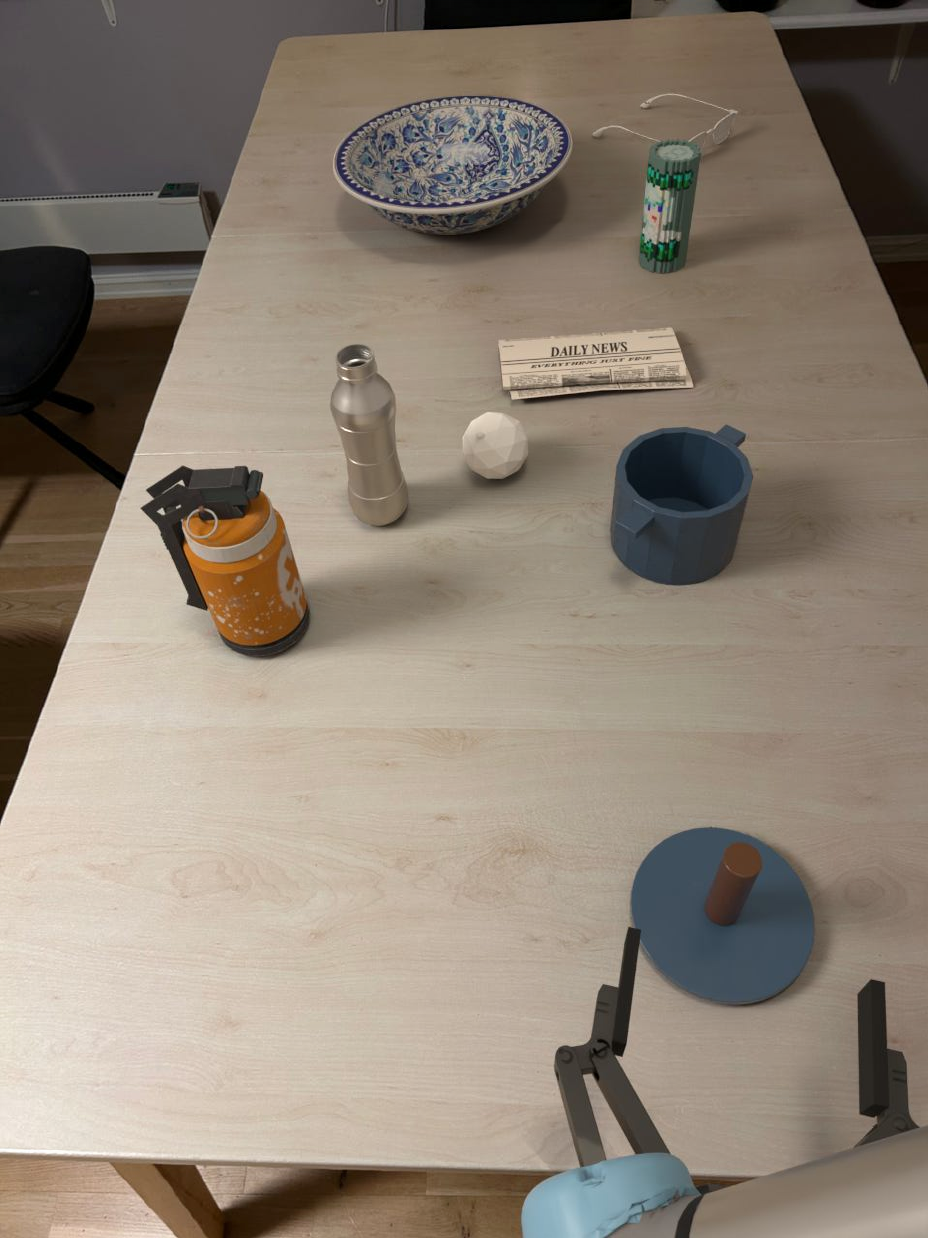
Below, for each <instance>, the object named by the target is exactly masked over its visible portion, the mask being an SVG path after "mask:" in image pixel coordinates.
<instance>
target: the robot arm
mask: <svg viewBox="0 0 928 1238" xmlns="http://www.w3.org/2000/svg"><path fill="white" fill-rule="evenodd" d="M640 935H641V929H637V928H634V927H632V926H628V927H627V931H626V935H625V939H624V944H623V948H622V949H623V950H622V958H621V964H620V972H619V979H618V986H615V985H609V984H605V983H602V985H601V986H600V988H599V990H597V996H596V1001H595V1007H594V1013H593V1021H592V1028H591V1035H590V1038H589V1040H588V1041H586V1043H583V1044H580V1045H572V1046H571V1045H567V1044H566V1045H565V1044H564V1045H561V1046H559V1047H558V1048H557V1049H556V1051H555V1054H554V1061H553V1071H554V1075H555V1079H556V1083H557V1086H558V1089H559V1094H560V1098H561V1101H562V1104H563V1108H564V1109H563V1110H564V1112H565V1116H566V1119H567V1123H568V1124H567V1125H568V1128H569V1130H570V1135H571V1138H572V1142H573V1146H574V1149H575V1153H576V1157H577V1161H578V1165H579V1166H578V1167H575V1168H572V1169H569V1170H566V1171H562V1172H559V1173H557V1174H555V1175H553V1176H551V1177H548V1178H546V1179H544V1180H542V1181H540V1182H539V1183H538V1184H537V1185H535V1186H534V1187H533V1188H532V1189H531V1190H530V1192H529V1193H528V1194H527V1196H526V1197H525V1200H524V1202H523V1204H522V1208H521V1216H520V1219H521V1221H520V1222H521V1229H522V1230H521V1231H522V1238H928V1124H927V1125H926V1124H925V1125H923V1126H919V1125H918V1124H917V1123H916V1122H915V1121H914V1120H913V1118H912V1117H911V1114H910V1108H909V1090H908V1089H909V1087H908V1085H909V1084H908V1067H907V1064H908V1063H907V1060H906V1058H905V1055H904V1052H903V1051H900V1050H896V1049H892V1048H888V1031H887V1029H888V1028H887V1001H886V982H885V981H882V980H877V979H872V978H871V979H869V981H867V983H865V985H864V986H863V987H862V988H861V989H860V991H858V992H857V998H856V999H857V1049H858V1050H857V1051H858V1052H857V1055H858V1056H857V1057H858V1058H857V1059H858V1060H857V1061H858V1062H857V1063H858V1106H859V1107H858V1111H859V1112H858V1113H859V1114H858V1115H861V1116H863V1117H864V1116H865V1117H868V1118H871V1119H872V1118H873V1119H874V1118H876V1123H875V1124H874V1125H872V1128H871V1129H870V1130H869V1131H867V1132H866V1134H865V1135H864V1136H863V1137H862V1138H861V1139H860V1140H859V1141H858V1142H857V1143H856V1144H855V1145H854V1146H853V1147H852V1148H850V1149H846V1150H843V1151H840V1152H836V1153H834V1154H830V1155H827V1156H823V1157H821V1158H817V1159H813V1160H809V1161H808V1162H804V1163H801V1164H798V1165H795V1166H791V1167H788V1168H785V1169H781V1170H778V1171H775V1172H771V1173H769V1174H765V1175H763V1176H759V1177H756V1178H753V1179H750V1180H746V1181H744V1182H743V1181H742V1182H740V1183H737V1184H734V1185H731V1186H726V1185H724V1184H719V1183H715V1182H712V1181H707V1183H702V1184H698V1185H696V1186H695V1185H694V1182H693V1179H692V1176H691V1174H690V1170H689V1169H688V1167H687V1165H686V1163H684V1161H683V1160H681V1158H679V1157H678V1156H676V1155H674V1154H672V1153H671V1152H670V1150H669V1148H668V1147H667V1144H666V1143H665V1141H664V1140H663V1138H662V1136H661V1134H660V1132H659V1130H658V1129H657V1127H656V1125H655V1124H654V1121H653V1120H652V1118H651V1116H650V1115H649V1113H648V1111H647V1109H646V1107H645V1105H644V1104H643V1102H642V1101H641V1099H640V1097H639V1095H638V1094H637V1091H636V1090H635V1088H634V1087H633V1085H632V1083H631V1081H630V1079H629V1078H628V1076H627V1074H626V1071H625V1070H624V1068H623V1067H622V1065H621V1063H620V1062H619V1060H618V1058H617V1057H621V1058H623V1057H624V1053H625V1051H626V1047H627V1043H628V1037H629V1029H630V1020H631V1012H632V1006H633V997H634V990H635V989H634V988H635V982H636V981H635V980H636V975H637V974H636V973H637V965H638V959H639V958H638V957H639V951H640ZM586 1075H592V1077H593V1079H594V1082H595V1083H596V1085H597V1087H598V1089H599V1090H600V1093H601V1094H602V1096H603V1098H604V1099H605V1101H606V1103H607V1105H608V1107H609V1109H610V1110H611V1112H612V1114H613V1116H614V1118H615V1120H616V1121H617V1123H618V1125H619V1128H620V1129H621V1131H622V1132H623V1135H624V1137H625V1138H626V1140H627V1141H628V1144H629V1145H630V1147H631V1149H632V1151H633V1152H634V1154H630V1155H625V1156H620V1157H613V1158H609V1159H607V1156H606V1152H605V1148H604V1145H603V1142H602V1138H601V1134H600V1131H599V1128H598V1124H597V1120H596V1117H595V1113H594V1110H593V1106H592V1103H591V1100H590V1096H589V1095H590V1094H589V1092H588V1089H587V1084H586V1083H585V1082H586V1081H585V1079H584V1076H586Z"/></svg>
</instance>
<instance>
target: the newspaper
mask: <svg viewBox="0 0 928 1238" xmlns="http://www.w3.org/2000/svg"><path fill="white" fill-rule="evenodd" d="M497 344H498V345H497V346H498V351H499V359H500V368H501V380H502V381H501V382H502V391H509V393H510V397H511V400H522V399H530V398H540V397H551V396H560V395H568V394H578V393H579V394H580V393H587V392H599V391H614V390H615V391H616V390H618V391H620V390H621V391H623V390H653V389H654V390H657V389H658V390H659V389H692V388H694V384H693V379H692V377H691V374H690V371H689V369H688V367H687V365H686V362H685V358H684V356H683V352H682V350H681V346H680V344H679V341H678V339H677V336H676V334H675V331H674V329H673V327H659V328H658V327H657V328H647V329H644V328H643V329H632V330H617V331H605V332H604V331H603V332H593V333H592V332H591V333H590V332H589V333H577V334H564V335H562V334H561V335H550V336H549V335H548V336H536V337H535V336H534V337H523V338H511V339H509V338H508V339H498V340H497Z"/></svg>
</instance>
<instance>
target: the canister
mask: <svg viewBox="0 0 928 1238" xmlns="http://www.w3.org/2000/svg"><path fill="white" fill-rule="evenodd" d="M263 479H264V473H263V471H259V470H257V469H252V470H250V471H249V467H248V466H246V465H235V466H234V467H221V468H219V467H218V468H199V469H194V468H191V467H188V466H185V465H181V466H179V467H178V468H177V469H175V470H174V471H172V472H170V473H169V474H168V475H166V476H164V477H163V478H161V479H160V480H158V481H157V482H155V483H153V484H152V485H151V486H149V487H147V488H146V489H145V491H146V493H147V494H148V495H149V496H150V497H151V498H152V500H150V501H148V502H146V503H145V504H143V505H142V506H141V507H139V508H140V510H141V511H142V512H143V513H144V514H145V515H146V516H147V517H148V518H149V519H150V520H151V521H152V523H154V524H155V525H156V526H157V528H158V530H159V532H160V537H161V540H162V542H163V544H164V547H165V548H166V549H165V550H167V551H168V553H169V555H170V557H171V559H172V562H173V564H174V566H175V568H176V570H177V573H178V576H179V577H180V580H181V583H182V584H183V587H184V589H185V591H186V593H187V599H186V604H185V605H186V606H189V607H193V608H196V609H200V610H203V611H206V612H208V611H209V613H210V616H211V618H212V620H213V623H214V625H215V627H216V629H217V632H218V635H219V637H220V639H221V640H222V642H223V644H225V646H226V647H227V648H229V649H230V650H231V651H233V652H235V653H237V654H240V655H243V656H248V657H265V656H271V655H274V654H277V653H280V652H282V651H284V650H286V649H288V648H289V647H290V646H292V645H293V644H295V643H297V641H298V640H299V639H300V638H301V637H302V636H303V634H304V633H305V631H306V630H307V628H308V625H309V622H310V613H311V612H310V606H309V603H308V600H307V596H306V592H305V589H304V585H303V583H302V580H301V575H300V573H299V572H300V571H299V569H298V565H297V562H296V558H295V554H294V552H293V548H292V545H291V542H290V538H289V534H288V531H287V528H286V523H285V521H284V519H283V516H282V515H281V514H280V512H279V511H278V510H276V508H274V507H273V504H272V501H271V499H270V498H269V496H268V495H267V494H266V493H265V492H264V491H262V485H263ZM181 481H182V482H183V484H180V483H179V482H181ZM179 506H180V507H179ZM161 509H162V511H163V512H164V514H161V513H160V512H159V511H160V510H161Z"/></svg>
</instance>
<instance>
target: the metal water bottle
mask: <svg viewBox="0 0 928 1238" xmlns="http://www.w3.org/2000/svg"><path fill="white" fill-rule="evenodd" d="M335 364H336V375H337V378H338V380H337V382H336V384H335V386H334V387H333V390H332V391H331V394H330V402H329V409H330V412H331V415H332V418H333V421H334V424H335V426H336V428H337V429H336V430H337V432H338V434H339V436H340V440H341V443H342V448H343V450H344V451H343V452H344V456H345V459H346V468H347V478H348V479H347V499H348V500H347V501H348V504H349V506H350V509H351V511H352V513H353V514H354V516H355V518H356V519H358V520H359V521H361V522H363V523H365V524H366V525H369V526H374V527H377V526H378V527H381V526H387V525H389V524H392V523H394V522H395V521H397V520H399V518H400V517H401V516H402V515H403V514H404V512H405V511H406V509H407V507H408V503H409V487H408V484H407V480H406V477H405V475H404V473H403V470H402V467H401V462H400V459H399V454H398V449H397V437H396V435H397V434H396V415H397V414H396V413H397V412H396V410H397V409H396V408H397V403H396V401H397V400H396V394H395V392H394V389H393V388H392V386H391V383H389V381H388V380H386V379H385V378H384V377H383V376H382V375H381V374H380V373H378V369H379V368H378V364H377V361H376V357H375V352H374V350H373V349H372V347H370V346H369V345H366V344H363V343H351V344H348V345H345V346H343V347H341V348H340V349H339V350H338V351H337V352H336V354H335Z"/></svg>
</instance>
